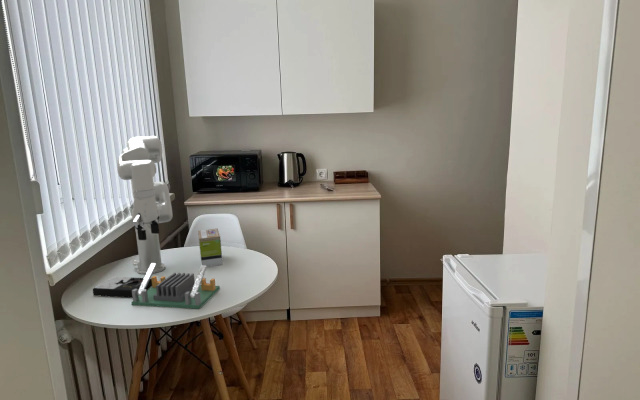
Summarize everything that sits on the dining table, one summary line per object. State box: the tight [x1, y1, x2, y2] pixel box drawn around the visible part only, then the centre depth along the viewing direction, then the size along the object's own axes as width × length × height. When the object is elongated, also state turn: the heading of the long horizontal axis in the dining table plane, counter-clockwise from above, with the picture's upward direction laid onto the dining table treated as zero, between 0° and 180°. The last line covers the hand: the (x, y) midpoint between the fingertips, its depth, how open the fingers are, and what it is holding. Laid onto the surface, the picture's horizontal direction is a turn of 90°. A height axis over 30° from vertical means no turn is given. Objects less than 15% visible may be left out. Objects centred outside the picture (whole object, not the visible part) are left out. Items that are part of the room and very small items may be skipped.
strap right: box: [189, 264, 208, 299], centre depth 169 cm, size 2×15×1 cm
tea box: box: [197, 228, 223, 268], centre depth 213 cm, size 15×10×15 cm
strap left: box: [136, 263, 156, 296], centre depth 173 cm, size 2×15×1 cm
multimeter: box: [92, 276, 152, 299], centre depth 182 cm, size 13×19×5 cm
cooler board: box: [131, 272, 221, 310], centre depth 174 cm, size 28×19×7 cm
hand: (149, 236), depth 174 cm, fingers open, 8 cm apart
